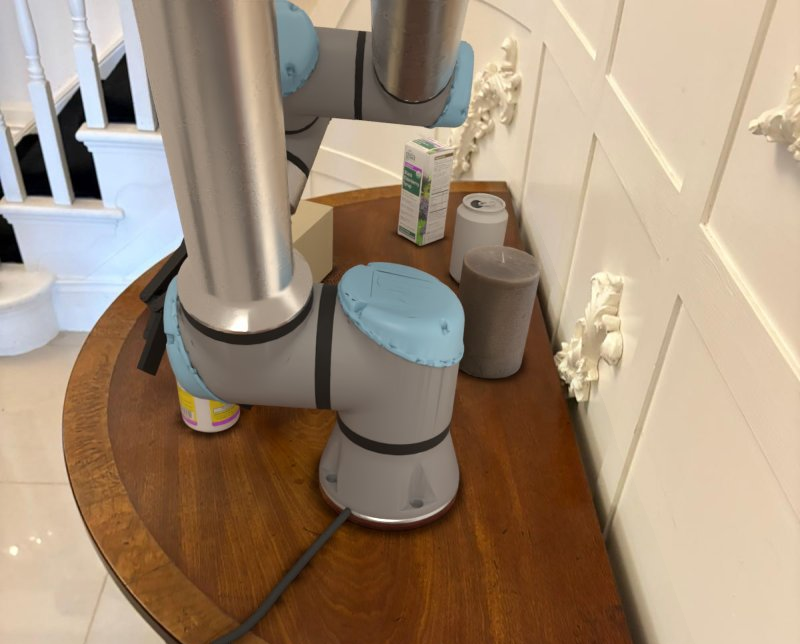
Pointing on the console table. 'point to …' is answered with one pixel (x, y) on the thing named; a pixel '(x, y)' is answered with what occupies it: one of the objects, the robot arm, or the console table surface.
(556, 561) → the console table surface
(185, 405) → the supplement bottle
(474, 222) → the can
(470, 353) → the pillar candle
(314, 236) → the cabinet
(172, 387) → the console table surface
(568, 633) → the console table surface
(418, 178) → the syrup box
